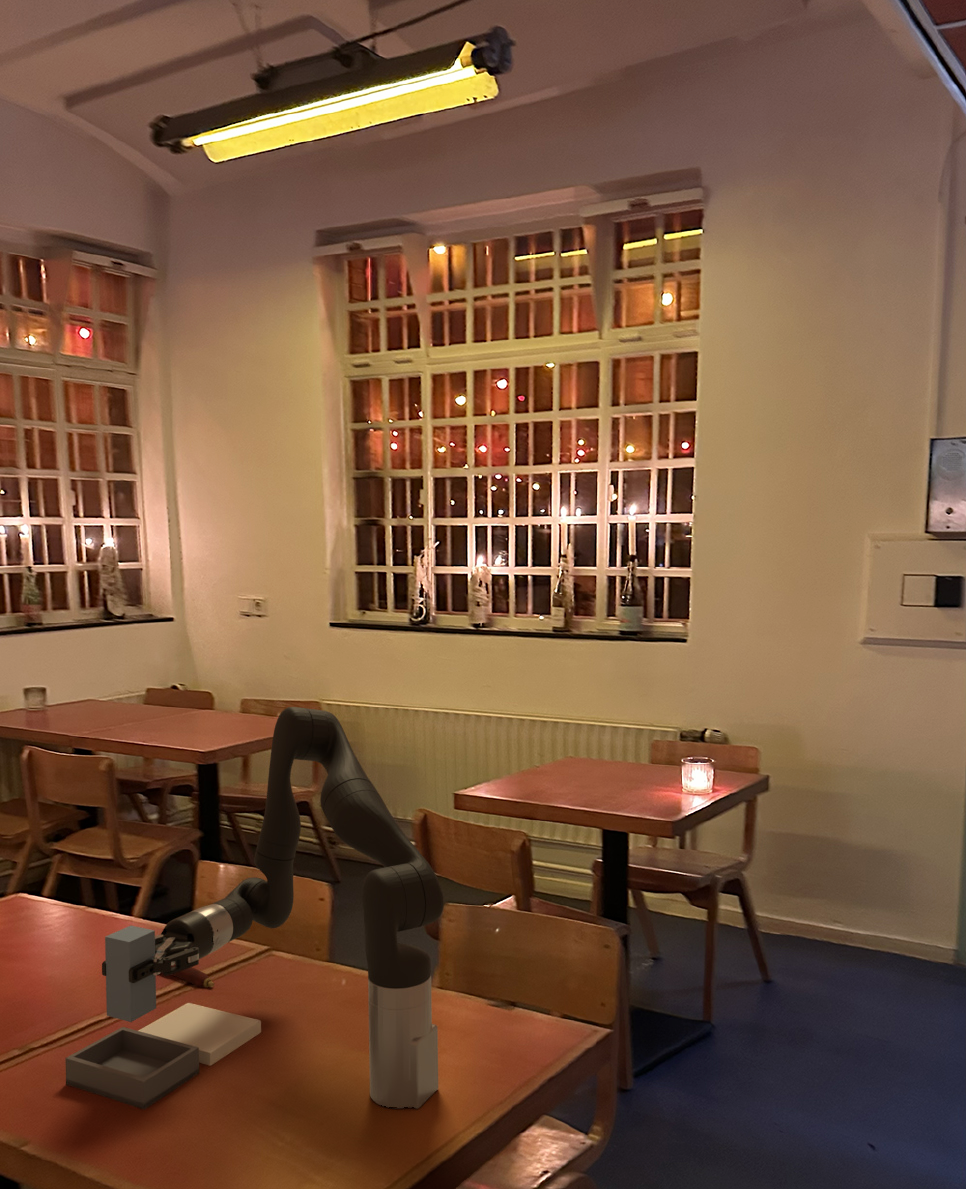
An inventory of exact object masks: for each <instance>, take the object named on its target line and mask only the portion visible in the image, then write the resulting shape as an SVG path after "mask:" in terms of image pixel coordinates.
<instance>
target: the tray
mask: <svg viewBox="0 0 966 1189" xmlns="http://www.w3.org/2000/svg"><path fill="white" fill-rule="evenodd" d="M64 1061H65V1062H64V1063H65V1085H67V1086H70V1087H72V1088H76V1089H79V1090H82V1091H85V1092H88V1093H92V1094H95V1095H99V1096H101V1097H103V1098H108V1099H110V1100H114V1101H116V1102H119V1103H123V1104H126V1105H129V1106H132V1107H136V1108H139V1109H141V1110H146V1109H147V1108H149V1107H150V1106H152V1105H154V1104H155V1103H157V1102H158V1101H160V1100H161V1099H163V1098H165V1096H168V1095H169V1094H170V1093H171V1092H173V1091H175V1090H176V1089H178V1088H179V1087H181V1086H183V1085H184V1084H185V1083H186V1082H187V1083H188V1082H189V1081H190V1080H191V1079H193V1078H194V1077H196V1076H197V1075H199V1074H200V1063H199V1047H195V1046H192V1045H188V1044H184V1043H181V1042H177V1041H173V1040H170V1039H166V1038H162V1037H158V1036H155V1035H151V1034H147V1033H144V1032H140V1031H138V1030H137V1029H136V1030H135V1029H133V1028H129V1027H128V1028H127V1027H125V1026H121V1027H120V1028H118V1029H116V1030H114V1031H113V1032H111V1033H109V1034H107V1035H105V1036H103V1037H102V1038H100V1039H98V1040H96V1041H94V1042H92V1043H91V1044H89V1045H86V1046H85V1047H83V1048H81V1049H79V1050H78V1051H76V1052H74V1053H73V1054H70V1055H68V1056H67V1057H65V1060H64Z"/></svg>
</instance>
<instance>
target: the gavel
mask: <svg viewBox="0 0 966 1189" xmlns="http://www.w3.org/2000/svg"><path fill="white" fill-rule="evenodd" d="M175 966H176V964H174V965H172V966H171V968H173V967H175ZM171 976H175V977H177V978H179V979H181V980H183V981H184V982H187V983H189V984H191V983H192V985H194V986H196V987H202V988H203V987H204V988H208V987H209V988H212V987H214V986H215V983H214V982H213V981H212V979H211V978H210V977H209V976H208V974H207V973H205V972H203V971H201V970H198V969H196V968H195V967H190V968H188V969H185V970H182V971H180V972H177V973H174V974H172V975H171Z"/></svg>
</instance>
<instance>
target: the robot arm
mask: <svg viewBox="0 0 966 1189" xmlns="http://www.w3.org/2000/svg"><path fill="white" fill-rule="evenodd" d="M271 742H272V743H271V750H270V759H269V768H268V777H267V789H266V800H265V808H264V809H265V810H264V815H263V819H262V824H261V829H260V831H259V836H258V841H257V844H256V849H255V853H254V856H253V863H254V865H255V867H256V868H257V869H258V870H259V871H260V872H261V873H262V874H263V875H264V876H265V878H266V879H264V878H261V877H255V876H254V877H248V878H245V879H244V880H242V881H240V883H239V884H237V886H236V887H235V888H233V890H231V891H230V892H229V893H228V894H227V895H226V896H225V897H224V898H222V899H219V900H217V901H215V902H214V903H211V904H209V905H204V906H201V907H198V908H196V909H194V910H192V911H190V912H187V913H185V914H183V915H181V916H178V917H176V918H174V919H172V920H170V921H169V922H167V923H166V925H165V926H164V927H163V929H162V931H161V933H160V934H155V956H153V957H152V958H151V960H146V961H144V962H142V963H140V964H138V965H136V966H134V967H132V968H130V969H129V982H131V983H136V982H138V981H140V980H142V979H144V978H146V977H148V976H150V975H156V976H158V975H160V974H161V973H162V975H163V976H164V977H168V976H173V975H172V974H174V973H177V972H180V971H182V970H185V969H188V968H190V967H192V968H194V967H195V966H198V965H199V964H200V960H201V959H202V958H204V957H207V956H208V955H210V954H213V953H215V952H216V951H218V950H219V949H221V948H222V947H223V946H225V945H226V944H228V943H230V942H232V941H234V940H236V939H237V938H240V937H242V936H243V935H244V934H246V933H247V932H248V931H249V930H250V928H251V927H252V923H253V922H255V923H257V924H259V925H261V926H263V927H265V928H269V929H277V928H280V927H281V926H282V925H284V924H285V923H286V921H287V920H288V919H289V918H290V916H291V913H292V910H293V905H294V899H295V898H294V897H295V896H294V862H295V861H294V860H295V857H296V853H297V849H298V845H299V840H300V836H301V829H302V825H301V822H302V821H301V816H300V812H299V808H298V806H297V802H296V798H295V796H294V793H293V789H292V784H291V774H292V767H293V764H294V761H295V760H298V761H308V762H317V763H318V764H321V765H322V766H323V768H324V770H325V771H326V773H327V776H326V778H325V780H324V782H323V786H322V788H321V792H320V807H321V809H322V812H323V813H324V814H323V815H324V816H325V818H326V819H327V822H328V824H329V825H330V827H331V829H332V831H333V832H334V834H335V835H336V836H337V838H338V839H340V841H342V842H343V843H344V844H346V845H347V846H349V847H351V848H352V849H354V850H356V851H357V852H359V853H361V854H363V855H365V856H367V857H369V858H370V859H372V860H374V861H375V862H378V863H379V864H380V865H381V866H383V867H379V868H376V869H373V870H370V871H369V872H368V873H367V874H366V876H365V877H364V880H363V884H362V893H361V897H362V898H361V899H362V900H361V901H362V915H363V930H364V951H365V957H366V958H365V959H366V964H367V983H368V984H367V986H368V988H367V991H368V997H367V998H368V1001H367V1002H368V1003H367V1004H368V1038H369V1039H368V1051H369V1054H368V1056H369V1057H368V1058H369V1060H368V1061H369V1062H368V1063H369V1064H368V1065H369V1066H368V1068H369V1096H370V1099H371V1100H372V1101H373V1102H374V1103H375V1104H377V1105H379V1106H381V1105H382V1107H384V1106H386V1108H389V1107H397V1108H396V1109H405V1108H404V1107H408V1108H412V1107H414V1108H413V1109H420V1107H422V1105H424V1104H425V1103H426V1102H427V1100H429V1098H431V1096H433V1095H434V1094H435V1093H436V1092H437V1090H439V1048H438V1047H439V1040H438V1039H439V1038H438V1037H439V1036H438V1032H439V1031H438V1029H439V1028H438V1025H437V1024H434V1023H433V1021H432V1020H433V1017H432V1014H433V1013H432V1009H433V1008H432V1003H433V1002H432V961H431V960H432V959H431V956H430V955H429V953H428V951H426V950H424V949H422V948H421V947H418V946H415V945H411V944H405V943H400V942H398V936H397V935H398V933H399V932H403V931H408V930H413V929H416V928H417V929H418V928H421V927H424V926H428V925H430V924H432V923H435V922H436V921H438V920H439V919H440V917H441V916H442V914H443V911H444V905H445V904H444V903H445V900H444V893H443V888H442V886H441V882H440V881H439V879H438V876H437V875H436V872H435V871H434V869H433V868H432V866H431V865H430V863H429V862H428V860H426V858H425V857H424V856H423V855H422V854H421V852H420V850H418V848H417V847H416V846H415V845H414V844H413V842H412V841H411V840H410V839H409V838H408V837H407V835H406V834H405V833H404V831H403V830H402V829H401V827H400V826H399V824H398V822H397V821H396V820H395V818H394V816H393V815H392V813H391V812H390V811H389V809H388V807H387V805H386V804H385V801H384V800H383V798H382V796H381V795H380V793H379V791H378V790H377V788H376V787H375V785H374V784H373V782H372V781H371V780H370V778H369V777H368V775H367V774H366V771H364V769H363V767H362V765H361V763H360V761H359V760H358V758H357V757H356V755H355V753H354V750H353V748H352V747H351V744H350V742H349V740H348V737H347V735H346V733H345V731H344V728H343V727H342V724H341V722H340V721H339V718H337V716H335V715H334V713H332V712H330V711H327V710H323V709H315V708H305V707H299V706H298V707H297V706H289V707H286V708H284V709H283V710H282V711H281V712H280V714H279V716H278V717H277V720H276V721H275V726H274V729H273V735H272V741H271ZM174 964H176V966H175V967H173V968H171V966H172V965H174ZM101 975H102V976H103V977H106V959H105V960H104V961H102V963H101Z"/></svg>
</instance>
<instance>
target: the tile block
mask: <svg viewBox="0 0 966 1189" xmlns="http://www.w3.org/2000/svg"><path fill="white" fill-rule="evenodd" d="M155 936H156V931H155V930H154V929H150V928H144V927H139V926H135V925H129V926H126V927H124V928H122V929H119V930H118V931H114V932H112V933H111V934H108V935H106V936H104V944H105V946H104V948H105V951H104V952H105V960H106V976H105V992H106V996H105V997H106V999H105V1000H106V1001H105V1002H106V1003H105V1004H106V1017H110V1018H114V1019H117V1020H121V1021H124V1022H128V1023H133V1022H135V1021H136V1020H137V1019H139V1018H142V1017H143V1016H145V1015H147V1014H149V1013H150V1012H153V1011H154V1010H156V1009H157V979H156V977H157V975H150V976H148V977H146V978H144V979H142V980H140V981H138V982H136V983H131V982H129V969H130V968H132V967H134V966H136V965H138V964H140V963H142V962H144V961H146V960H151V958H152V957H153V956H155Z"/></svg>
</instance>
